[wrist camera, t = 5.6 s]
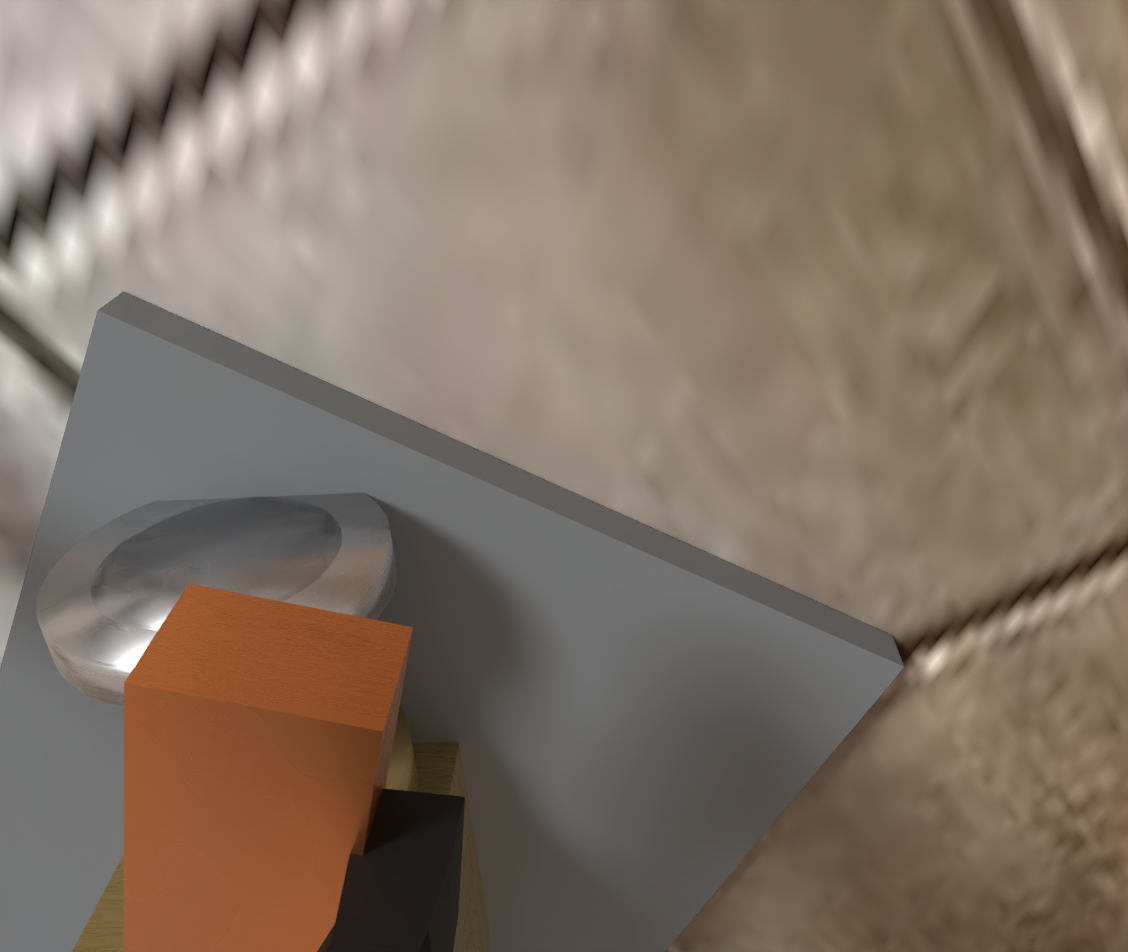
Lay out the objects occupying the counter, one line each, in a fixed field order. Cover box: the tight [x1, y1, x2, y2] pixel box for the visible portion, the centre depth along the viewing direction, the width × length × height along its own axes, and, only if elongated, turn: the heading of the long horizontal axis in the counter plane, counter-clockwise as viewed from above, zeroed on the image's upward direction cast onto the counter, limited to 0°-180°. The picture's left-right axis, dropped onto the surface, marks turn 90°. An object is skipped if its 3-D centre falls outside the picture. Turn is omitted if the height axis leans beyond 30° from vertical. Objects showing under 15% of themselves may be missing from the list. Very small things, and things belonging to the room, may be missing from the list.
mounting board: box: [0, 292, 904, 952], centre depth 23 cm, size 20×16×1 cm
